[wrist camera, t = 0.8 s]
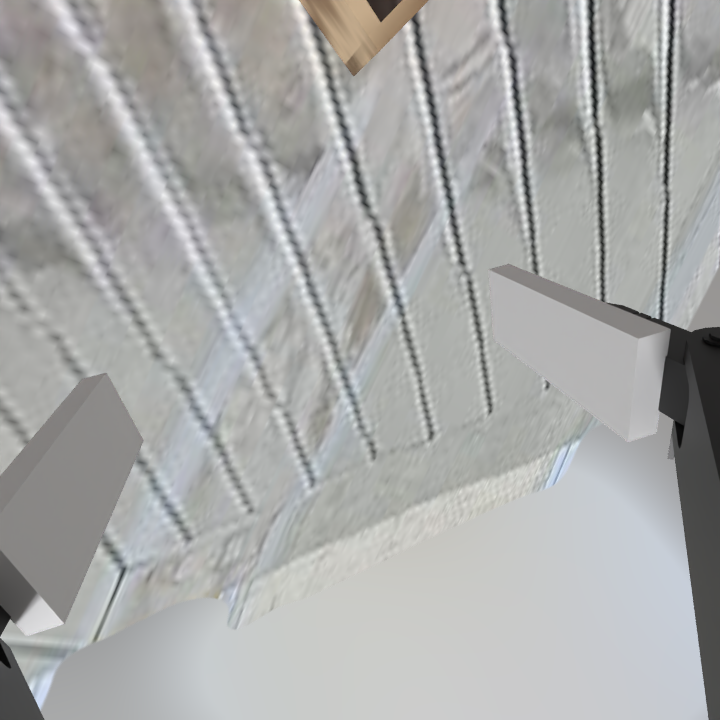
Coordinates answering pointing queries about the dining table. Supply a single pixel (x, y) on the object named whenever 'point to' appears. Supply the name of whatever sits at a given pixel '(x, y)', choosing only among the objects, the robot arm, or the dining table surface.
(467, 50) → the dining table surface
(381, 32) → the u-shaped wooden frame
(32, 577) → the robot arm
